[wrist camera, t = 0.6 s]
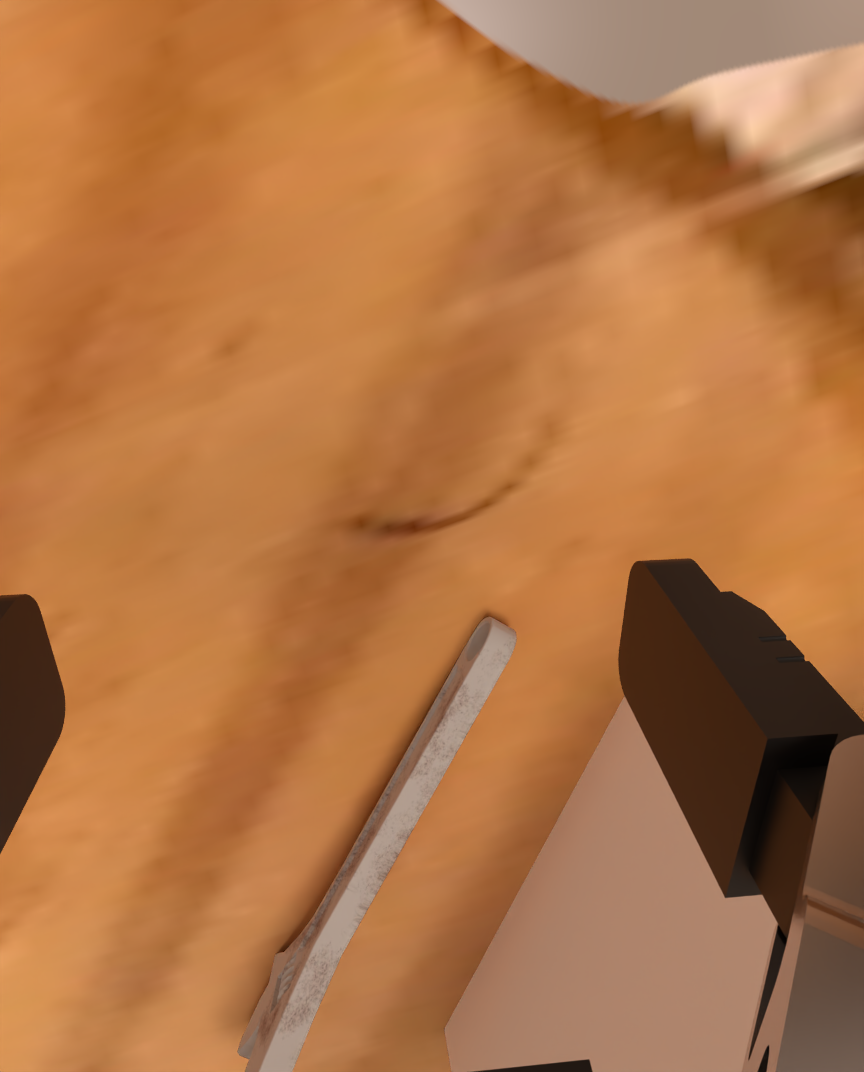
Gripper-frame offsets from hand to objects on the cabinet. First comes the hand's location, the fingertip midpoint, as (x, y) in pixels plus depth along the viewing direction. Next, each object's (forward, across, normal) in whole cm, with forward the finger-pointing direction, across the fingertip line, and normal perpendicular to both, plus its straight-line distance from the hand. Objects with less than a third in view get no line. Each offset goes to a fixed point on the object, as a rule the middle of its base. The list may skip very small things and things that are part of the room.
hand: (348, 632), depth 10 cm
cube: (+21, +19, -38) cm, 47 cm away
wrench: (+23, -1, -30) cm, 37 cm away
